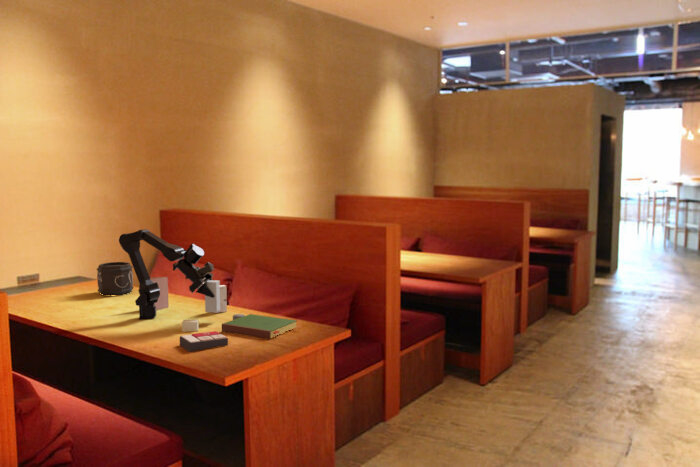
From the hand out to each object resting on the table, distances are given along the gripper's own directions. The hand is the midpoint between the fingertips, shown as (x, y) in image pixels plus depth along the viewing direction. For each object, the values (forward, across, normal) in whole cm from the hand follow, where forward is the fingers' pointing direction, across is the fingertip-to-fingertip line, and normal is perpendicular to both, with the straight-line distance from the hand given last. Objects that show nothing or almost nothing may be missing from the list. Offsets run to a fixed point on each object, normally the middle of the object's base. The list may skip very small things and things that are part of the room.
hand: (215, 295), depth 262 cm
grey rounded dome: (+15, 0, +1) cm, 15 cm away
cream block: (+3, -13, +13) cm, 19 cm away
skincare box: (+6, +19, +11) cm, 23 cm away
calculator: (+12, -34, +5) cm, 37 cm away
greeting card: (-16, +22, +33) cm, 42 cm away
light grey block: (+4, 0, +6) cm, 7 cm away
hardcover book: (+24, -13, -7) cm, 28 cm away
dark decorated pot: (-41, +59, +58) cm, 93 cm away
